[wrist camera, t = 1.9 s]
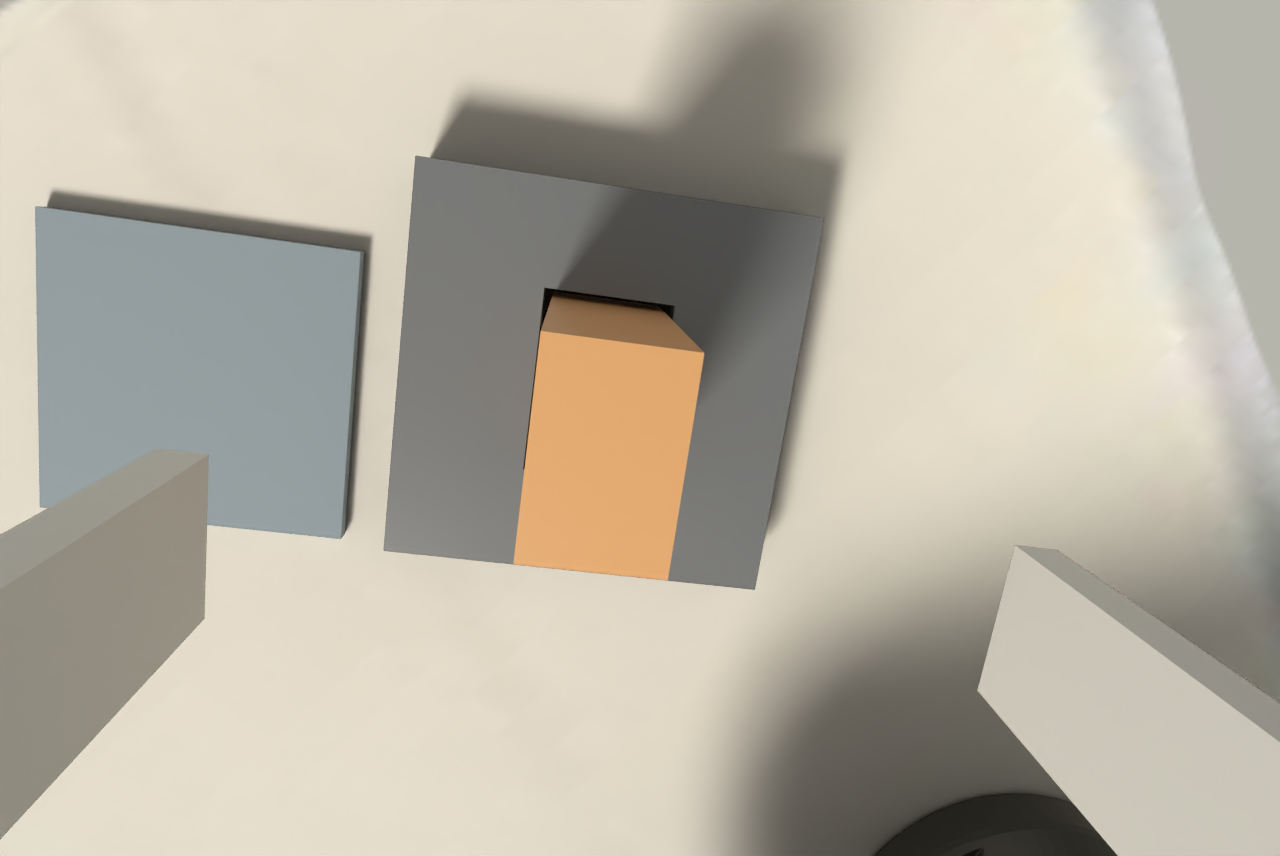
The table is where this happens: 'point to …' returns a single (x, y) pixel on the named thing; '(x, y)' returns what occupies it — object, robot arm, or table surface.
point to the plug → (607, 438)
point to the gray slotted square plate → (510, 333)
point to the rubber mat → (198, 363)
